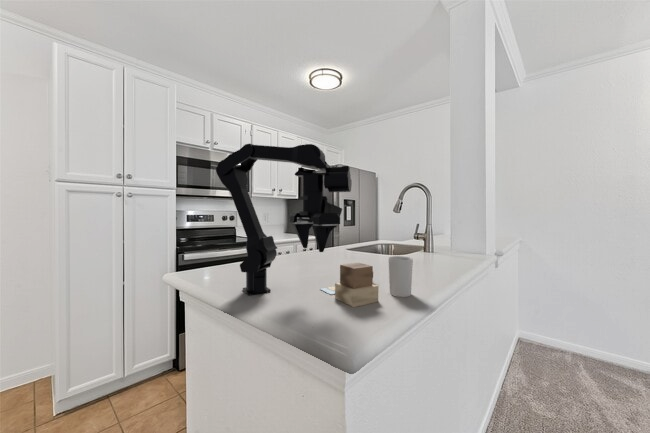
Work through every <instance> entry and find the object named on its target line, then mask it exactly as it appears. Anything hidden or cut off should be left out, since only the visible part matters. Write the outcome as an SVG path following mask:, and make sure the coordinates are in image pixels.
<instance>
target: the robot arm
mask: <svg viewBox="0 0 650 433" xmlns="http://www.w3.org/2000/svg"><path fill="white" fill-rule="evenodd" d="M258 160H259V161H268V162H280V163H291V164H296V165H299V166H302V167H300V168H299V169H298V170H297V171H296V172H295V173H294V175H295V176H296V177H298V178H302V180H301V181H302V182H301V183H302V190H301V191H302V192H301V193H302V195H301V196H299V201H302V203H301V204H302V206H301V207H302V211H299V212H292V213H291V214H290V215H289V223H291V226H292V228H294V231H295V233H296V235H297V237H298V240H299V242H300V244H301V246H302V248H303V249H308V245H309V236H310V229H311V228H312V230H313V235H314V238H315V242H316V246H317V248H318V252H319V253H324V252H325V248H326V245H327V242H328V239H329V236H330V233H331V232H332V231H333V230H334V229H336V228H337V227H338V225H341V215H342V211H343V208H342V207H339V206H338V205H335V204H333V203H330V202H329V201H328V197H327V196H326V195H324V188H325V190H326V189H327V190H328V193H350V192H351V191H352V178H351V175H352V174H351V170H350V169H351V168H350V166H349V165H343V166H332V167H331V165H329V164H328V162H327V161H326V155H325V153H324V151H323V150H321V149H320V148H319V147H318V146H317V145H315V144H312V143H307V144H299V145H296V146H292V147H291V146H290V147H286V146H273V145H260V144H252V143H246V144H244V145H243V146H242V147H241V148H239V149H238V150H236V151H234V152H232V153H229V155H227V156H226V157H225V158H224V159H222V160H220V161H219V162H218V164H217V166H216V168H215V171H216V172H215V173H216V175H217V177H218V179H219V180H220V182H221V184H222V185H223V186H224V187H225V188H226V189H227V190H228V191H229V193H230V195H231V198H232V201H233V203H234V207H235V210H236V211H237V215H238V218H239V219H240V222H241V225H242V228H243V231H244V233H245V235H246V255H247V257H246V258H245V259H244V260H243V261H242V262H241V263H240V264H239V268H240V272H241V273H245V275H246V276H245V280H246V282H245V287H242V290H243V292H244V293H245V294H247V295H248V296H249V295H250V296H252V295H256V294H257V295H258V294H264V293H269V292H271V289H270V288H269V287H267V285H268V284H267V281H268V280H267V274H268V273H267V271H268V270H267V269H268V268H271V265H272V263H273V262H274V260H276V258H277V257H276V256H277V250H278V246H276V244H275V240H274V237H273V236H272V235H269V236H267V235H266V234H265V232H264V231H263V228H262V224H261V223H260V220H259V218H258V215H257V212H256V210H255V207H254V204H253V202H252V199H251V196H250V193H249V191H248V187H247V186H248V176H247V174H248V173H249V172H250V171H251V170H252V168H253V166H254V165H255V163H256V162H257V161H258ZM304 167H305V168H308V169H305V168H304ZM317 170H320V171H322V172H317Z"/></svg>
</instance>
